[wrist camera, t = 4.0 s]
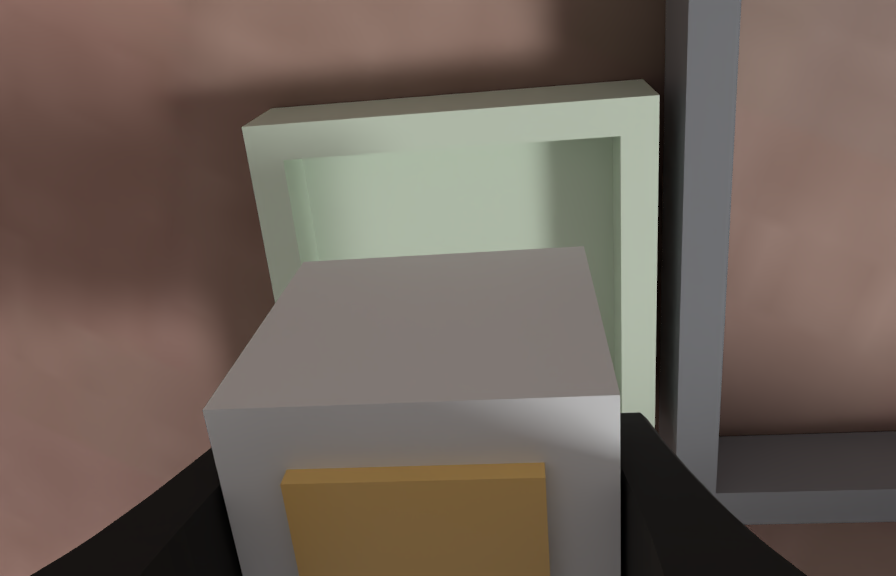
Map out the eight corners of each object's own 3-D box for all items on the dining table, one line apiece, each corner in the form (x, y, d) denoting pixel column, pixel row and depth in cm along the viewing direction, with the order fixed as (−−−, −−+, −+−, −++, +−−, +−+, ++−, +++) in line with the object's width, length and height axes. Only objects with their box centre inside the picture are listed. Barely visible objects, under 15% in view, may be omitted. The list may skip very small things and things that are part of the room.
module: (589, 483, 15) (624, 724, 11) (342, 488, 16) (267, 722, 11) (583, 246, 14) (622, 409, 9) (303, 261, 14) (193, 423, 9)
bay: (640, 408, 22) (653, 457, 20) (325, 419, 23) (306, 467, 21) (642, 78, 18) (659, 95, 16) (271, 108, 19) (241, 127, 17)
